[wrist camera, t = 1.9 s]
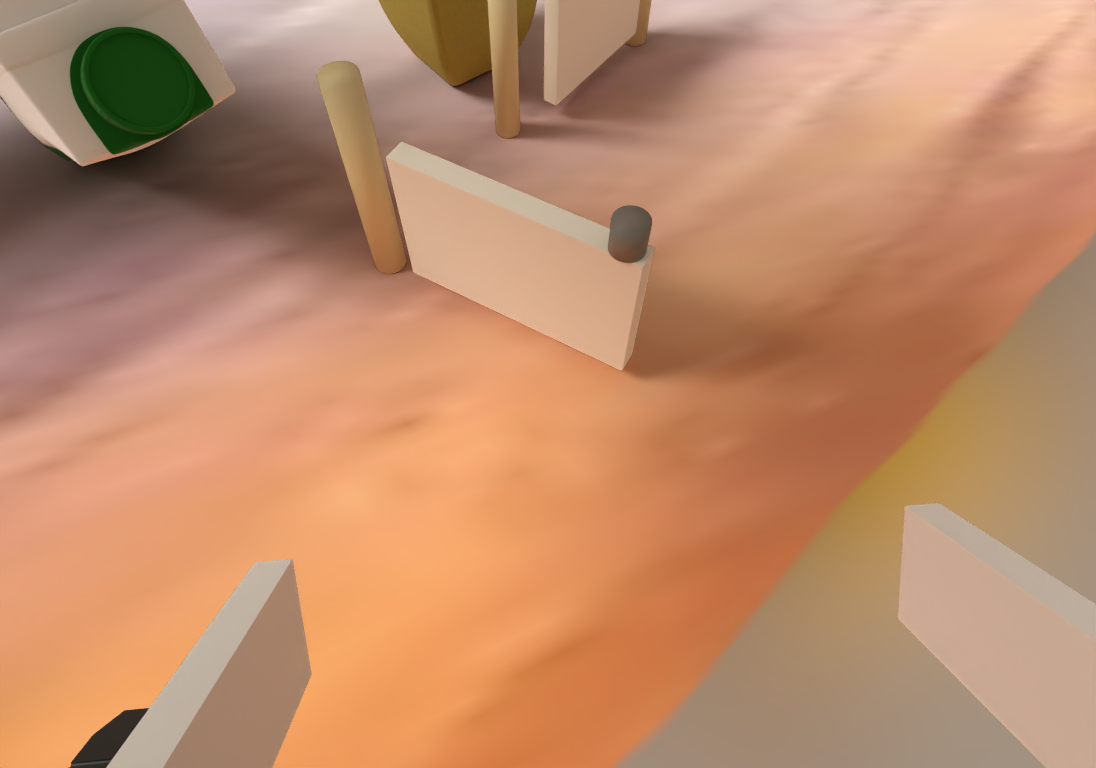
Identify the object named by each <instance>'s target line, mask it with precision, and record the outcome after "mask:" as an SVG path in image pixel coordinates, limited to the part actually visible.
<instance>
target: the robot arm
mask: <svg viewBox="0 0 1096 768" xmlns="http://www.w3.org/2000/svg"><path fill="white" fill-rule="evenodd" d="M899 590H900V591H899V605H898V619H899V620H900V622H901V623H903V624H904V626H906V628H907V629H909V631H910V632H911V633H912V634H913V635H914V636H915V637H917V639H918V640H919V641H920V642H921V643H922V644H923V645H924V646H925V647H926V648H927V649H928V650H929V651H930V652H931V653H932V654H933V655H934V656H935V657H936V658H937V659H938V660H939V661H940V662H941V663H942V664H943V665H944V666H945V667H946V668H947V669H948V670H949V671H950V672H951V673H952V674H953V675H954V676H955V677H956V678H957V679H958V680H959V681H960V682H961V683H962V684H963V685H964V686H965V687H966V688H967V689H968V690H969V691H970V692H971V693H972V694H973V695H974V696H975V697H976V698H977V699H978V700H979V701H980V702H981V703H982V704H983V705H984V706H985V707H986V708H987V709H988V710H989V711H990V712H991V713H992V714H993V715H994V716H995V717H996V718H997V719H998V720H999V721H1000V722H1001V723H1002V724H1003V725H1004V726H1005V727H1006V728H1007V729H1008V730H1009V731H1010V732H1011V733H1012V734H1013V735H1014V736H1015V737H1016V738H1017V739H1018V740H1019V741H1020V742H1021V743H1022V744H1023V745H1024V746H1025V747H1026V748H1027V749H1028V751H1030V752H1031V753H1032V755H1034V757H1035V758H1036V759H1037V760H1038V761H1039V762H1040V763H1041V764H1042V765H1043V766H1044V767H1045V768H1096V604H1095V603H1093V602H1092V601H1090V600H1088V599H1087V598H1086V597H1084V596H1082V595H1081V594H1079V593H1077V592H1076V591H1075V590H1073V589H1071V588H1070V587H1068V586H1067V585H1065V584H1064V583H1062V582H1061V581H1059V580H1058V579H1056V578H1055V577H1053V576H1051V575H1050V574H1048V573H1047V572H1045V571H1044V570H1042V569H1041V568H1039V567H1038V566H1036V565H1034V564H1033V563H1031V562H1030V561H1028V560H1027V559H1025V558H1024V557H1022V556H1020V555H1019V554H1017V553H1016V552H1014V551H1013V550H1011V549H1009V548H1008V547H1007V546H1005V545H1003V544H1002V543H1000V542H999V541H997V540H996V539H994V538H992V537H991V536H990V535H988V534H987V533H985V532H983V531H982V530H980V529H979V528H977V527H976V526H974V525H973V524H971V523H970V522H968V521H966V520H965V519H963V518H962V517H960V516H959V515H957V514H956V513H954V512H952V511H951V510H949V509H948V508H946V507H945V506H943V505H942V504H940V503H933V504H920V505H908V506H905V514H904V528H903V544H902V559H901V574H900V589H899ZM310 677H311V668H310V662H309V656H308V650H307V644H306V638H305V632H304V625H303V619H302V613H301V607H300V601H299V595H298V589H297V583H296V577H295V571H294V565H293V559H286V560H275V561H263V562H255V563H254V564H253V566H252V567H251V568H250V570H249V571H248V573H247V574H246V575H245V577H244V578H243V580H242V581H241V582H240V584H239V585H238V586H237V588H236V589H235V591H234V592H233V593H232V595H231V596H230V597H229V599H228V600H227V602H226V603H225V604H224V606H223V607H222V609H221V610H220V611H219V613H218V614H217V615H216V617H215V618H214V620H213V621H212V622H211V624H210V625H209V626H208V628H207V629H206V631H205V632H204V633H203V635H202V636H201V638H200V639H199V640H198V642H197V643H196V644H195V646H194V647H193V649H192V650H191V651H190V653H189V654H188V655H187V657H186V658H185V660H184V661H183V662H182V664H181V665H180V666H179V668H178V669H177V671H176V672H175V673H174V675H173V676H172V678H171V679H170V680H169V682H168V683H167V684H166V686H165V687H164V689H163V690H162V691H161V693H160V694H159V695H158V697H157V698H156V700H155V701H154V702H153V704H152V705H151V707H150V708H146V709H135V710H125V711H123V712H122V713H121V714H119V715H118V716H117V717H116V718H114V719H113V720H112V721H110V722H109V723H108V724H107V725H105V726H104V727H103V728H101V729H100V730H99V731H98V732H96V733H95V734H94V735H93V736H92V737H91V738H90V739H89V741H88V742H87V743H86V744H85V746H84V747H83V748H82V749H81V751H80V752H79V753H78V755H77V756H76V757H75V758H74V760H73V761H72V762H71V767H70V768H272V767H273V765H274V762H275V760H276V757H277V755H278V753H279V750H280V748H281V746H282V743H283V741H284V738H285V736H286V734H287V731H288V729H289V727H290V724H291V722H292V719H293V717H294V715H295V712H296V710H297V708H298V705H299V703H300V700H301V698H302V696H303V693H304V691H305V689H306V686H307V684H308V681H309V679H310Z"/></svg>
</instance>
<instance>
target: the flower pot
mask: <svg viewBox="0 0 1096 768" xmlns="http://www.w3.org/2000/svg"><path fill="white" fill-rule="evenodd" d="M379 2H380V4H381V6H382V8H383V10H384V12H385V14H386V15H387V17H388V19H389V21H390V22H391V24H392V25H393V27H394V28H395V30H396V31H397V33H398V34H399V35H400V37H401V38H402V39H403V40H404V42H405V43H406V44H407V45H408V47H409V48H410V49H411V50H412V51H413V53H414V54H415V55H416V56H417V57H418V58H420V59H421V60H422V61H423V62H424V63H425V64H427V65H428V66H429V67H430V68H431V69H433V70H434V71H435V72H436V73H437V74H438V75H439V76H441V77H442V78H443V79H444V80H445V81H446V82H447V83H449V84H450V85H453V86H457V85H460V84H462V83H464V82H466V81H468V80H470V79H473V78H475V77H477V76H479V75H481V74H483V73H485V72H487V71H489V70H491V69H492V62H491V46H490V30H489V14H488V0H379ZM536 2H537V0H517V33H518V48H519V46H520V45H521V43H522V41H523V40H524V38H525V36H526V34H527V32H528V30H529V27H530V25H531V22H532V19H533V16H534V12H535V7H536Z"/></svg>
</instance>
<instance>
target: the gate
mask: <svg viewBox="0 0 1096 768" xmlns="http://www.w3.org/2000/svg"><path fill="white" fill-rule="evenodd" d="M386 161H387V165H388V169H389V173H390V177H391V182H392V186H393V190H394V194H395V198H396V202H397V206H398V211H399V215H400V219H401V223H402V227H403V231H404V236H405V240H406V244H407V248H408V252H409V256H410V260H411V265H412V269H413V273H416V274H418V275H420V276H422V277H424V278H426V279H428V280H430V281H432V282H435V283H437V284H439V285H441V286H443V287H445V288H447V289H449V290H451V291H454V292H456V293H458V294H460V295H462V296H464V297H466V298H468V299H470V300H473V301H475V302H477V303H479V304H481V305H483V306H485V307H487V308H490V309H492V310H494V311H496V312H498V313H500V314H502V315H504V316H506V317H509V318H511V319H513V320H515V321H517V322H519V323H521V324H523V325H525V326H528V327H530V328H532V329H534V330H536V331H538V332H540V333H542V334H544V335H547V336H549V337H551V338H553V339H555V340H557V341H559V342H561V343H563V344H566V345H568V346H570V347H572V348H574V349H576V350H578V351H580V352H582V353H585V354H587V355H589V356H591V357H593V358H595V359H597V360H599V361H601V362H604V363H606V364H608V365H610V366H612V367H614V368H616V369H618V370H621V371H622V370H623V368H624V367H625V365H626V363H627V362H628V360H629V358H630V357H631V355H632V353H633V348H634V343H635V339H636V334H637V330H638V325H639V320H640V316H641V311H642V307H643V302H644V297H645V293H646V288H647V284H648V279H649V274H650V270H651V265H652V261H653V256H654V251H655V248H654V247H652V246H650V245H648V241H649V236H650V231H651V226H652V218H651V216H650V214H649V213H648V212H647V211H646V210H644V209H642V208H640V207H637V206H623V207H620V208H618V209H617V210H616V211H615V212H614V213H613V215H612V218H611V225H610V229H609V228H607V227H604V226H602V225H600V224H597V223H595V222H592V221H590V220H588V219H585V218H583V217H580V216H578V215H576V214H573V213H571V212H569V211H566V210H564V209H561V208H559V207H557V206H554V205H552V204H549V203H547V202H545V201H542V200H540V199H538V198H535V197H533V196H530V195H528V194H526V193H523V192H521V191H518V190H516V189H514V188H511V187H509V186H507V185H504V184H502V183H499V182H497V181H495V180H492V179H490V178H487V177H485V176H483V175H480V174H478V173H476V172H473V171H471V170H468V169H466V168H464V167H461V166H459V165H456V164H454V163H452V162H449V161H447V160H445V159H442V158H440V157H437V156H435V155H433V154H430V153H428V152H425V151H423V150H421V149H418V148H416V147H414V146H411V145H409V144H406V143H404V142H402V141H401V142H400V143H399V144H398V145H397V146H396V147H395V148H394V149H393V150H392V151H391V152H390V153H389V154H388V155H387V156H386Z"/></svg>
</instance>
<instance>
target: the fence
mask: <svg viewBox="0 0 1096 768" xmlns="http://www.w3.org/2000/svg"><path fill="white" fill-rule="evenodd" d="M651 1H652V0H545V26H544V100H545V101H547V102H549V103H551V104H554V105H558V104H559V103H560V102H561V101H562V100H563V99H564V98H565V97H566V96H567V95H568V94H570V93H571V92H572V91H573V90H574V89H575V88H576V87H577V86H578V85H579V84H581V83H582V82H583V81H584V80H585V79H586V78H587V77H588V76H589V75H590V74H591V73H593V72H594V71H595V70H596V69H597V68H598V67H599V66H600V65H601V64H602V63H603V62H605V61H606V60H607V59H608V58H609V57H610V56H611V55H612V54H613V53H614V52H616V51H617V50H618V49H619V48H620V47H621V46H622V45H623V44H624V43H625V44H627V45H630V46H639V45H642V44H643V43H645V41H646V35H647V28H648V21H649V14H650V7H651ZM488 14H489V30H490V46H491V62H492V77H493V93H494V109H495V125H496V133H497V134H498V135H499V136H501V137H503V138H512V137H515V136H517V135H518V134H519V132H520V108H519V71H518V33H517V0H488ZM317 80H318V83H319V86H320V90H321V93H322V96H323V99H324V103H325V106H326V109H327V112H328V115H329V119H330V122H331V125H332V128H333V131H334V135H335V138H336V141H337V144H338V148H339V151H340V154H341V157H342V160H343V164H344V167H345V170H346V173H347V177H348V180H349V183H350V186H351V189H352V193H353V196H354V199H355V202H356V206H357V209H358V212H359V215H360V218H361V222H362V225H363V228H364V231H365V234H366V238H367V241H368V244H369V247H370V251H371V254H372V257H373V260H374V263H375V267H376V268H377V270H378V271H380V272H382V273H385V274H394V273H397V272H399V271H401V270H402V269H403V268H404V267H405V265H406V256H405V252H404V248H403V244H402V240H401V236H400V232H399V228H398V224H397V220H396V216H395V211H394V207H393V203H392V199H391V195H390V191H389V187H388V183H387V179H386V175H385V171H384V167H383V163H382V159H381V155H380V151H379V147H378V143H377V139H376V135H375V131H374V127H373V123H372V119H371V115H370V111H369V107H368V103H367V99H366V95H365V91H364V87H363V82H362V78H361V74H360V70H359V68H358V67H357V66H356V65H355V64H353V63H351V62H347V61H335V62H331V63H328V64H326V65H324V66H323V67H321V68H320V69H319V71H318V73H317Z"/></svg>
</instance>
